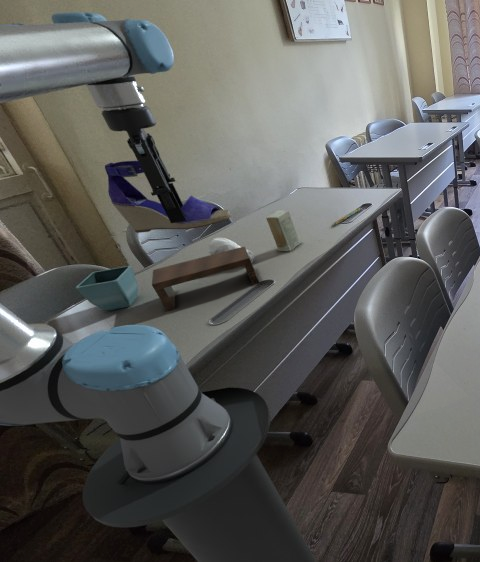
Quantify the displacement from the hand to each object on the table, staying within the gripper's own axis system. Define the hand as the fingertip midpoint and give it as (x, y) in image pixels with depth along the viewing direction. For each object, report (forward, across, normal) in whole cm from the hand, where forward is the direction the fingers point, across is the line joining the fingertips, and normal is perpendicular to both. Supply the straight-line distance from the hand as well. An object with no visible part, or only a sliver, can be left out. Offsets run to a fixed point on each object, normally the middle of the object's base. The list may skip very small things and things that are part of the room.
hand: (178, 216), depth 91 cm
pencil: (+26, +43, -44) cm, 67 cm away
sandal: (+2, +1, 0) cm, 2 cm away
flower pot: (+26, +20, +23) cm, 40 cm away
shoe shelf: (+26, +14, +2) cm, 29 cm away
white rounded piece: (+22, +26, -6) cm, 35 cm away
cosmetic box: (+26, +29, -21) cm, 44 cm away
